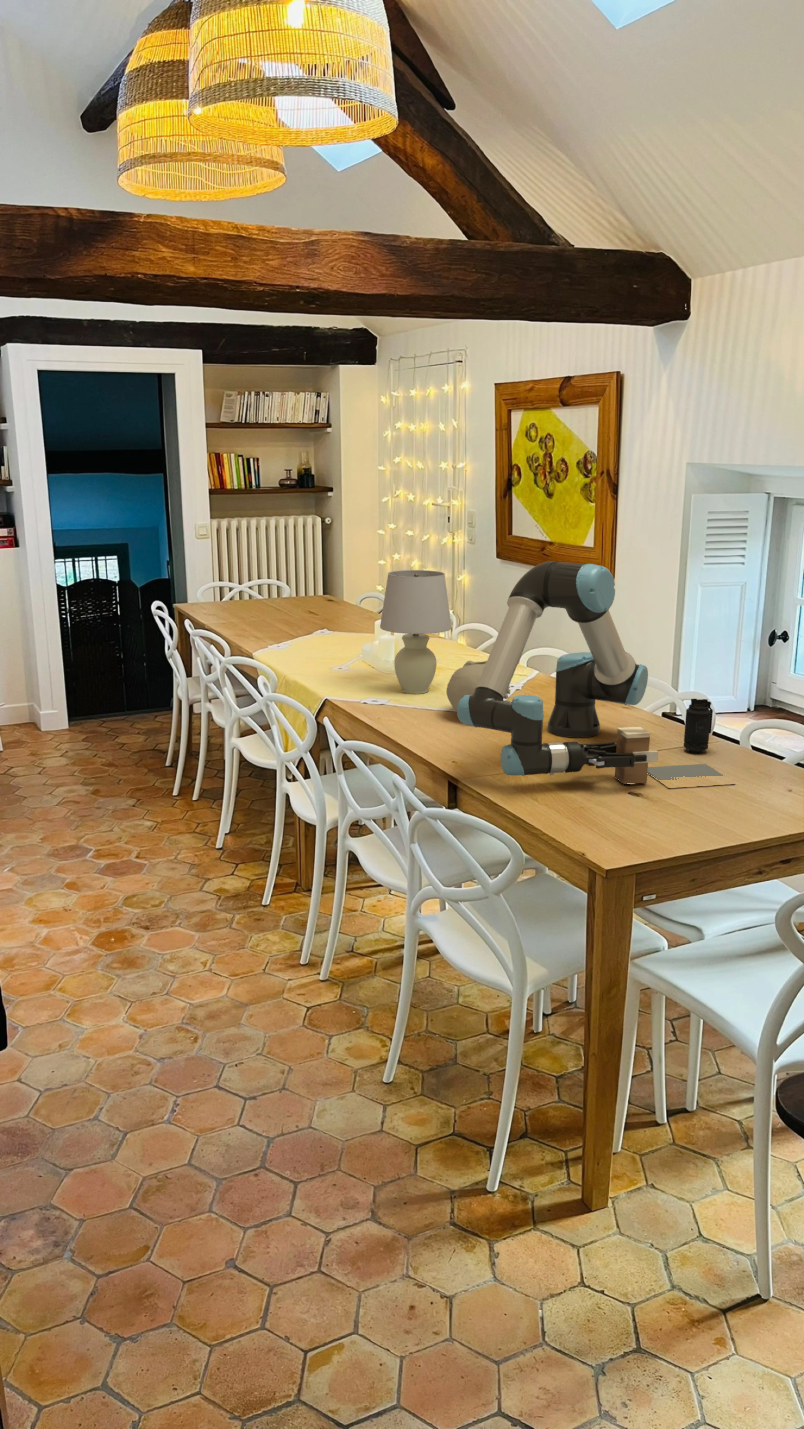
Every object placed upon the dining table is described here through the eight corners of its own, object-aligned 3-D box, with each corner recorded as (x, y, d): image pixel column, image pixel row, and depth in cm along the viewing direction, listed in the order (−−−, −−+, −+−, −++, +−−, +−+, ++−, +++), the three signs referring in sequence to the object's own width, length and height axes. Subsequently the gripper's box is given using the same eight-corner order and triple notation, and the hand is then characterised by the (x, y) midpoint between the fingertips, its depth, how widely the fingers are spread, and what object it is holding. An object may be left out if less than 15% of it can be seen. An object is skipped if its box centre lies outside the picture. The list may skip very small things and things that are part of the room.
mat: (641, 769, 277) (641, 767, 277) (705, 766, 281) (705, 763, 280) (668, 789, 262) (668, 786, 262) (735, 784, 265) (735, 782, 265)
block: (614, 777, 269) (617, 727, 266) (636, 776, 271) (639, 726, 267) (624, 784, 264) (627, 734, 260) (646, 783, 265) (650, 733, 261)
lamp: (371, 685, 369) (371, 570, 359) (436, 681, 376) (438, 568, 366) (391, 701, 347) (392, 579, 337) (460, 697, 354) (463, 576, 344)
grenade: (690, 755, 290) (695, 702, 286) (678, 749, 296) (682, 696, 292) (714, 753, 292) (718, 700, 288) (701, 747, 298) (705, 695, 294)
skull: (511, 640, 330) (447, 639, 332) (511, 684, 310) (444, 684, 312) (510, 694, 342) (449, 693, 344) (510, 741, 322) (445, 740, 324)
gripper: (550, 760, 272) (634, 755, 276) (576, 784, 254) (667, 778, 258) (551, 732, 270) (636, 727, 274) (578, 753, 252) (669, 748, 256)
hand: (651, 752), depth 266 cm, fingers closed on block, 6 cm apart
